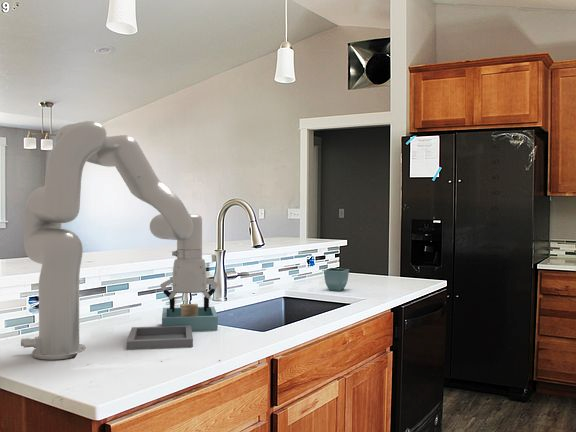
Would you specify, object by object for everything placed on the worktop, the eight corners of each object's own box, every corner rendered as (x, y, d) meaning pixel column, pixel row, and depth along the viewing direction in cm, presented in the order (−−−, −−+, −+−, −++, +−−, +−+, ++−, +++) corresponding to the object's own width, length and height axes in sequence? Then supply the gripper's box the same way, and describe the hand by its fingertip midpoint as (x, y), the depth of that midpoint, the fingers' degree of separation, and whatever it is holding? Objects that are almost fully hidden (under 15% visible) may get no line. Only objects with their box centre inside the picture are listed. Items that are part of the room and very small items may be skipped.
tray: (161, 335, 168) (161, 318, 168) (162, 323, 183) (163, 307, 183) (217, 333, 171) (217, 316, 171) (214, 321, 186) (214, 306, 186)
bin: (126, 353, 148) (126, 341, 148) (131, 337, 164) (131, 327, 164) (192, 350, 151) (192, 339, 151) (191, 335, 168) (191, 325, 167)
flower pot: (342, 292, 248) (342, 271, 248) (323, 290, 252) (323, 270, 252) (349, 289, 256) (349, 269, 256) (330, 287, 260) (330, 267, 260)
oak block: (181, 327, 174) (181, 307, 174) (180, 323, 179) (180, 304, 179) (198, 326, 175) (198, 306, 175) (197, 323, 180) (197, 303, 180)
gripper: (160, 256, 171) (159, 314, 172) (219, 255, 174) (218, 312, 175) (160, 254, 178) (160, 309, 179) (217, 253, 182) (217, 307, 182)
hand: (189, 310), depth 177 cm, fingers open, 9 cm apart
